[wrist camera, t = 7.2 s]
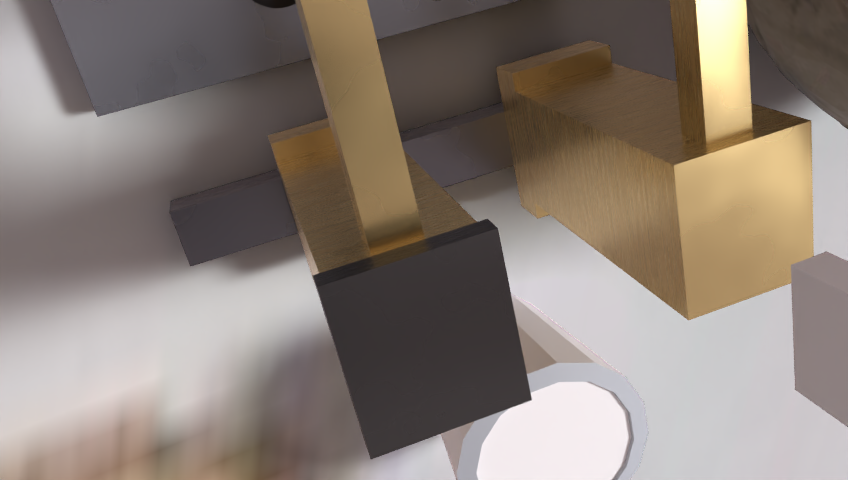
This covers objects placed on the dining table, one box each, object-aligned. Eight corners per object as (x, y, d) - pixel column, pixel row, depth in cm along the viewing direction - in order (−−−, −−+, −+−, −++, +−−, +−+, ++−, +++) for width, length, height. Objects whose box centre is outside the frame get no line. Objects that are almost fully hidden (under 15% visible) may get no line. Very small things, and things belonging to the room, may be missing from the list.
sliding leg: (308, 278, 27) (375, 475, 17) (190, -93, 22) (188, -121, 12) (411, 244, 28) (535, 416, 18) (318, -123, 23) (417, -174, 13)
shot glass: (399, 291, 30) (454, 384, 24) (564, 265, 31) (657, 346, 25) (408, 440, 32) (460, 561, 26) (561, 409, 34) (644, 515, 28)
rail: (190, 253, 27) (190, 266, 26) (170, 201, 26) (169, 212, 25) (581, 132, 30) (595, 139, 29) (573, 81, 29) (588, 86, 28)
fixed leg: (521, 205, 29) (690, 341, 19) (455, -155, 24) (637, -222, 14) (607, 178, 29) (814, 295, 19) (559, -180, 24) (804, -261, 15)
